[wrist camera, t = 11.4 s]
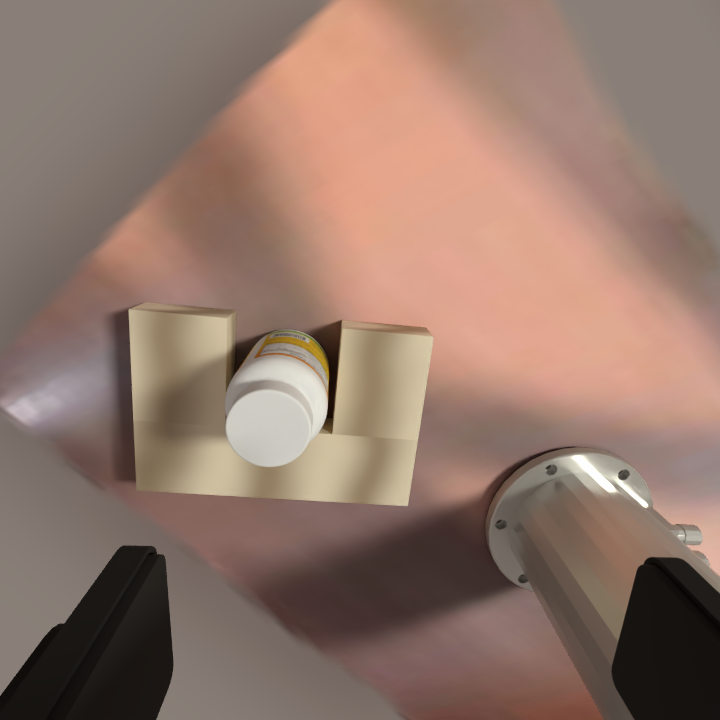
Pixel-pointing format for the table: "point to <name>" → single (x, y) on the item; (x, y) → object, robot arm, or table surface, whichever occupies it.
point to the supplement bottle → (277, 398)
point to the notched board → (323, 453)
